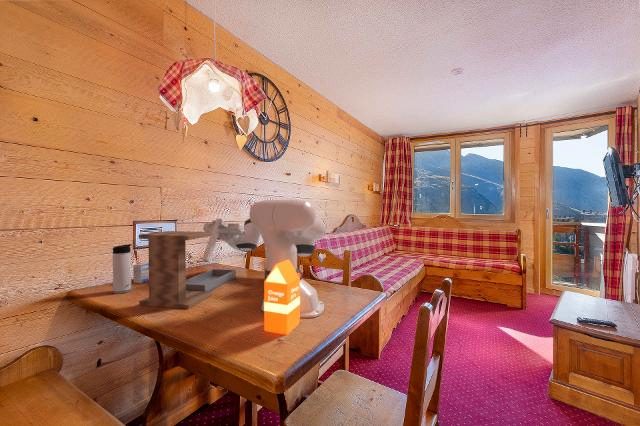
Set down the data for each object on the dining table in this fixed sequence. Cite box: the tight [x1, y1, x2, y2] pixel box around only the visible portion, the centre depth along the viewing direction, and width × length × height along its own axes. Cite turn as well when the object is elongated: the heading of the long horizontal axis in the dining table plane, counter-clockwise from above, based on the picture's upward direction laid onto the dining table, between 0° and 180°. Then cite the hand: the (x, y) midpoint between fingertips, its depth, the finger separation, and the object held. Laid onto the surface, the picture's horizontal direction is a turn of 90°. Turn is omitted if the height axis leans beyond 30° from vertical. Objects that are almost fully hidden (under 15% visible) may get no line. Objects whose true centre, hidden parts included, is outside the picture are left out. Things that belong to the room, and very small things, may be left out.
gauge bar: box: [201, 218, 224, 263], centre depth 133 cm, size 2×22×2 cm
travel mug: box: [112, 243, 133, 295], centre depth 118 cm, size 6×7×20 cm
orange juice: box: [263, 259, 301, 335], centre depth 85 cm, size 8×9×20 cm
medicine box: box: [132, 261, 149, 284], centre depth 135 cm, size 8×4×9 cm, turn 168°
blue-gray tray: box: [186, 268, 237, 292], centre depth 130 cm, size 13×28×4 cm, turn 170°
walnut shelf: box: [138, 230, 213, 310], centre depth 108 cm, size 20×15×26 cm
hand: (216, 221), depth 136 cm, fingers closed on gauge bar, 2 cm apart
